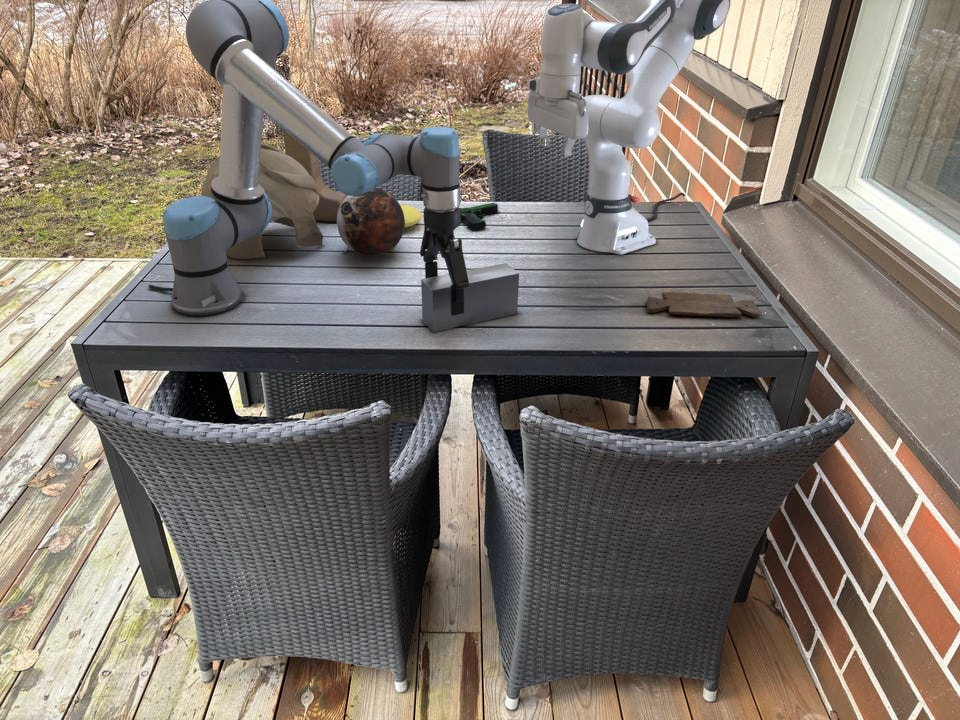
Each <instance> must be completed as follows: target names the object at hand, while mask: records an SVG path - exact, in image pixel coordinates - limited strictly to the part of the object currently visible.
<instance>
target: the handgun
mask: <svg viewBox="0 0 960 720" xmlns="http://www.w3.org/2000/svg"><path fill="white" fill-rule="evenodd" d="M459 208H460V222H463V223H465V224H466V225H467V227H468V228H469V229H470V230H472V231H479V230H484V229H486V226H487V222H486V221H485V220H484V219H485V216H486V215H492V214H496V213H497V214H498V213H499V205H498V203H495V202H489V203H485V204H479V205H474V206H469V207H468V206H467V207H459Z"/></svg>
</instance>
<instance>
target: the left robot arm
mask: <svg viewBox="0 0 960 720" xmlns="http://www.w3.org/2000/svg"><path fill="white" fill-rule="evenodd" d="M185 38H186V42H187V46H188V49H189V50H190V52H191V55H192V56H193V57H194V59H195V60H196V62H197V64H198V65H199V66H200V67H201V68H202V69H203V70H204V71H205V72H206V73H207V74H208V75H210V76H211V77H212V78H213V79H214V80H215V81H217V82H218V83H219V84H220V85H222V101H221V102H222V104H221V106H222V107H221V121H220V122H221V124H220V134H221V136H220V145H219V158H220V162H219V176H218V177H216V178H215V179H213V180H212V183H211V197H206V196H201V195H194V196H189V197H188V198H187V197H184V198H181V199H178V200H176V201H173V202H171V203H170V204H169V205H168V206H166V208H165V209H164V211H163V214H162V219H163V230H164V231H163V232H164V234H165V238H166V242H167V246H168V247H167V248H168V251H169V255H170V258H171V259H170V260H171V264H172V268H173V272H174V279H173V285H172V287H165V286H157V285H153V284H149V285H148V288H149V289H153V290H156V291H160V292H161V291H162V292H172V294H171V302H172V303H171V304H172V308H173V310H175V311H176V312H177V313H180V314H182V315H186V316H192V317H203V316H212V315H213V316H214V315H217V314H221V313H224V312H228V311H229V310H231V309H234V308H235V307H237V306H238V305H239V304H240V303H241V301H242V300H243V295H242V289H241V287H240V285H239V283H238V281H237V280H236V278H235V276H234V274H233V272H232V270H231V269H230V267H229V262H228V255H226V250H227V249H229V248H231V247H233V246H235V245H237V244H239V243H241V242H243V241H245V240H247V239H249V238H252V237H254V236H256V235H258V234H259V233H260V232H261V231H263V232H264V230H265V229H267V227H268V226H269V224H270V223H271V222H270V220H271V216H272V208H271V203H270V201H268V200H267V198H268V196H267V195H266V193H265V192H264V187H263V186H262V185H261V184H260V183H259V182H258V176H259V164H260V152H261V144H262V141H263V140H262V139H263V129H264V117H265V116H264V115H266V116H267V117H268V118H269V119H270V120H272V122H274V123H275V124H276V125H278V126H279V127H280V128H281V129H282V130H283V129H284V130H285V131H286V132H287V133H288V134H290V135H291V136H292V137H293V138H294V139H296V140H297V141H298V142H299V143H300V144H301V145H303V146H304V147H305V148H306V149H307V150H309V151H310V152H311V153H312V154H313V155H315V156H316V157H317V158H318V159H319V161H320V162H322V163H323V164H324V165H325V166H327V167H328V168H329V169H330V174H331V175H330V176H331V179H332V180H331V181H332V182H333V183H334V185H335V187H336V189H337V190H338V192H342V193H344V194H346V195H347V196H348V195H349V196H357V195H360V194H363V193H366V192H369V191H371V190H372V189H373V188H377V187H378V186H379V185H382V184H384V183H387V181H390V180H391V179H393V178H395V177H397V176H399V175H402V176H403V175H404V176H413V177H421V183H422V193H421V195H420V197H421V198H422V199H423V200H422V202H423V203H422V204H423V207H424V208H423V211H422V212H423V225H424V226H423V227H424V229H423V235H422V240H421V245H420V250H419V255H420V257H421V258H422V259H423V262H424V274H425V278H430V277H435V276H439V271H438V268H439V265H438V260H439V258H438V255H439V253H440V257H441V258H442V259H444V263H445V265H446V269H447V272H448V274H449V275H450V279H451V282H452V285H451V286H450V290H451V315H452V316H454V315H458V314H463V313H464V287H469V280H468V275H467V266H466V265H467V264H466V261H465V256H464V251H463V240H462V238H460V237H459V238H456V236H455V230H457V228H459V227H460V225H461V221H460V208H461V207H460V206H461V183H460V165H461V164H460V156H461V149H460V141H459V134H458V133H459V132H457V130H455V129H454V128H452V127H448V126H447V127H446V126H429V127H426V128H423V129H422V130H421V131H420V134H419V136H409V135H401V134H393V133H389V132H384V133H377V132H376V133H372V134H370V135H369V136H368V138H367V140H365V142H364V143H363V142H362V141H361V140H359V139H358V138H357V137H356V136H354V135H352V133H350V132H349V131H348V130H347V129H345V127H344V126H342V125H341V124H340V123H339V122H338V121H336V120H335V119H334V118H333V117H331V116H330V115H329V113H326V112H325V111H324V110H323V109H322V108H321V107H319V106H318V105H317V104H316V103H315V102H314V101H312V100H311V99H310V98H309V97H308V96H306V95H305V94H304V92H302V91H301V90H299V89H298V88H297V87H296V86H295V85H293V83H291V82H290V81H289V80H287V78H285V77H284V76H283V75H282V74H280V73H279V72H278V71H277V70H276V63H277V58H278V57H280V56H281V55H283V53H284V52H285V51H286V50H287V49H288V46H289V43H290V31H289V26H288V23H287V20H286V18H285V16H283V14H282V11H281V10H280V8H279V7H278V6H277V5H276V4H275V3H274V2H273V1H271V0H205V1H203V2H200V3H199V4H197V5H196V6H195V7H193V9H192V10H191V12H190V13H189V15H188V17H187V20H186V24H185ZM269 222H270V223H269ZM425 278H424V279H425Z"/></svg>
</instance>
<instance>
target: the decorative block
mask: <svg viewBox="0 0 960 720" xmlns="http://www.w3.org/2000/svg"><path fill="white" fill-rule="evenodd" d="M282 133H283V134H282V135H283V143H284V151H285V154H286V155H288V156H290V157H292V158H293V159H295V160H296V161H297V162H299V163H300V164H301V165H302V166H303V167H304V168H305V169H306V171H307V172H308V173H309V175H310V176H312V178H313V179H314V182H315V185H316V188H317V193H318V195H319V198H320V200H319V204H318V206H317V208H316V209H315V210H314V212H313V216H314V219H315V221H316V222H317V221H319V222H333V223H337V214H338V210H339V208H340V205H341V204H342V202H343V201H344V199H345V198H346V197H347V196H348V195H346V194H344V193H342V192H341V191H339V190H338V191H337V190H333V189H331V187H329V186H327V185H326V183H325V181H324V179H323V177H322V175H321V166H320V165H321V163H320V160H319V159H318V158H317V157H316V156H315V155H313V154H312V153H311V152H310V151H309V150H307V149H306V148H305V147H304V146H303V145H301V144H300V143H299V142H298V141H297V140H296V139H294V138H293V137H292V136H291V135H290V134H288V133H287V132H286V131H285V130H284V129H282Z"/></svg>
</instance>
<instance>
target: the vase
mask: <svg viewBox="0 0 960 720" xmlns="http://www.w3.org/2000/svg"><path fill="white" fill-rule="evenodd" d="M400 206H401V208H402V210H403V213H404V218H405V228H404V229H407V228H410V227H412V226H413V225H416V224H418V223H419V222H420V221H421V219H422V217H423V215H422V212H421V211H420V210H419V209H418V208H417V207H414V206H411V205H407V204H400Z"/></svg>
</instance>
